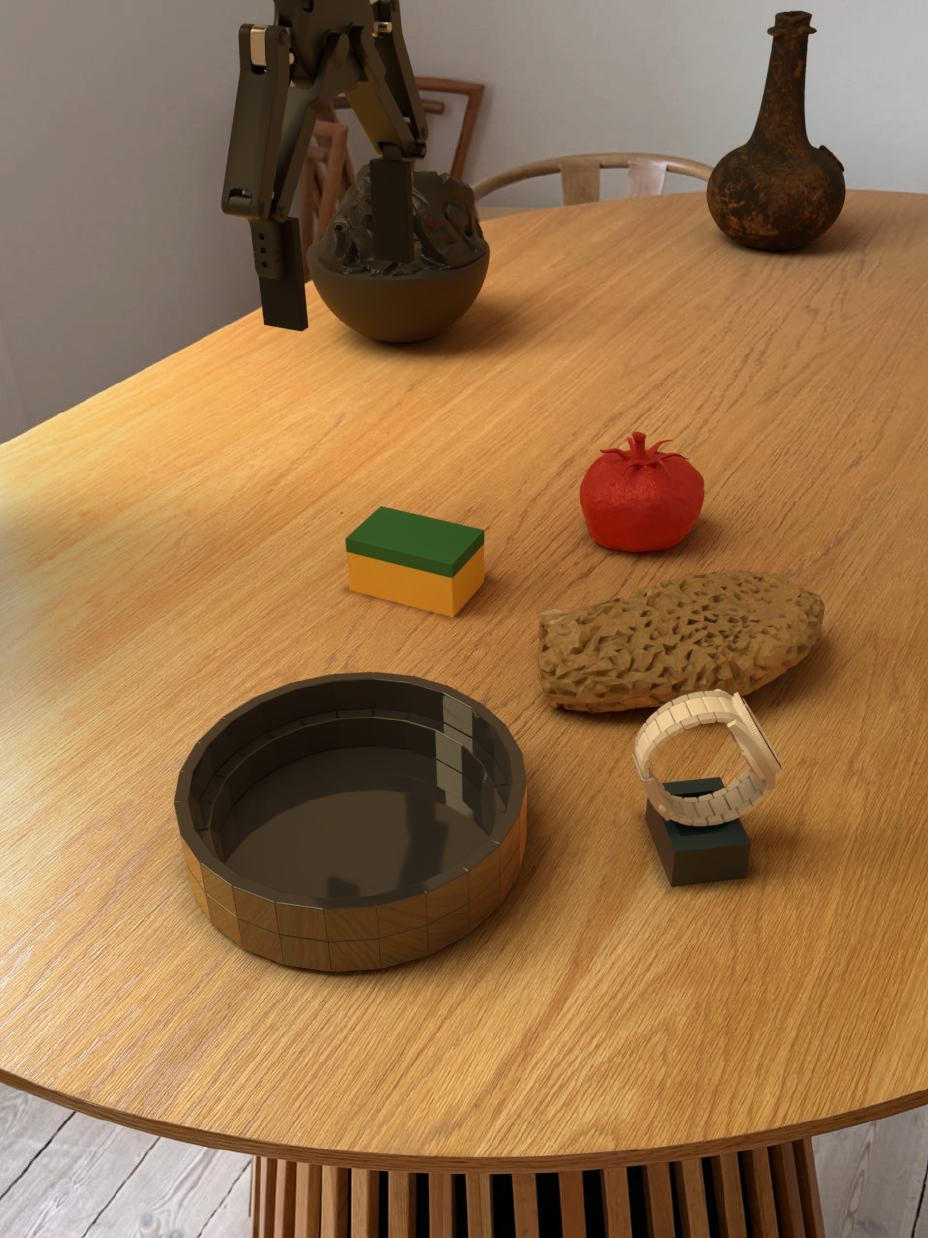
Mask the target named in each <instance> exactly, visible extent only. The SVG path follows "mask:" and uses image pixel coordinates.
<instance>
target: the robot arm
mask: <svg viewBox="0 0 928 1238" xmlns="http://www.w3.org/2000/svg"><path fill="white" fill-rule="evenodd" d="M272 1H273V8H274V9H273V10H274V11H273V20H272V21H273V22H272V24H261V23H259V24H258V23H242V24H241V25H240V27H239V29H238V35H237V39H238V55H239V59H238V60H239V75H238V80H237V81H238V82H237V90H236V96H235V102H234V111H233V117H232V123H231V131H230V137H229V145H228V151H227V158H226V165H225V173H224V180H223V186H222V192H221V193H222V194H221V201H220V207H221V211H222V213H223V214H224V215H226V216H233V217H236V218H241V219H242V218H243V219H246V220H247V222H248V223H249V227H250V235H251V242H252V243H251V244H252V251H253V258H254V259H253V261H254V262H253V263H254V270H255V271H256V272H255V273H256V274H257V277H258V284H259V285H258V286H259V294H260V300H261V301H260V302H261V303H260V304H261V312H262V320H263V321H262V322H263V325H264V326H267V327H272V328H273V327H274V328H278V329H279V328H280V329H284V330H290V331H296V332H301V333H302V332H304V331H305V330H307V329H308V328H309V318H308V305H307V296H306V295H307V294H306V283H305V271H304V261H303V250H302V239H301V228H300V218H299V217H293V216H289V214H290V211H291V208H292V205H293V201H294V197H295V195H296V191H297V187H298V184H299V181H300V179H301V174H302V171H303V168H304V163H305V160H306V158H307V153H308V150H309V147H310V143H311V140H312V136H313V133H314V130H315V126H316V124H317V120H318V117H319V115H320V114H321V113H324V112H325V111H326V110H327V109H328V108H329V105H330V102H331V99H334V98H336V97H339V95H341V93H342V92H343V94H344V96H345V98H346V100H347V102H348V104H349V105H350V107H351V109H352V111H353V112H354V114H355V116H356V118H357V120H358V121H359V123H360V125H361V127H362V129H363V130H364V132H365V135H366V136H367V138H368V139H369V141H370V143H371V145H372V147H373V149H374V150H375V152H376V154H377V155H378V156H382V155H383V159H379V157H374V158H372V159H370V160H368V163H369V165H370V183H371V201H372V219H373V236H374V254H375V259H379V260H386V261H393V262H400V263H406V264H410V263H412V262H413V261H415V258H414V232H413V205H412V179H411V171H412V161H411V160H419V161H420V160H421V161H424V159H425V158H426V156H427V150H428V148H427V143H426V142H427V140H428V138H429V135H430V132H429V131H430V130H429V129H430V128H429V125H428V121H427V118H426V114H425V109H424V107H423V103H422V100H421V95H420V92H419V88H418V84H417V81H416V78H415V74H414V71H413V67H412V63H411V60H410V56H409V52H408V48H407V45H406V41H405V38H404V34H403V27H402V26H403V25H402V15H401V4H400V0H272ZM291 83H292V84H293V86H291ZM405 118H408V120H405ZM243 191H244V193H243Z"/></svg>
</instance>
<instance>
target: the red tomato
mask: <svg viewBox="0 0 928 1238" xmlns="http://www.w3.org/2000/svg"><path fill="white" fill-rule="evenodd" d="M646 439H647V434H646V433H643V432H640V431H632V433H631V437H626V442H627V443H628V446H629V449H628V450H622V449H620V448H618V447H613V448H608V449H599V452H600V453H601V454H603V455H601V456H599V457H598V458H597V459H595V460H594V462H593V463H592V464H591V465H590V466H589V467H588V469H587V470H586V471H585V474H584V476H583V478H582V480H581V483H580V486H579V492H578V493H579V505H580V508H581V512H582V515H583V517H584V518H585V522H586V525H587V530H588V533H589V535H590V536H591V537H592V538H593V540H594V541H595V542H596V543H597V544H599V545H600V546H601V547H603V548H605V549H608V550H612V551H621V552H632V553H644V552H653V551H655V552H657V551H658V552H659V551H664V550H668V549H670V548H673V547H675V546H677V545H679V544H680V543H681V542H682V541H683V540H685V538H686V537H687V536H688V535H689V533H690V531H692V529H693V528H694V526H695V524H696V523H697V521H698V519H699V517H700V515H701V512H702V509H703V505H704V501H705V480H704V476H703V475H702V473H701V472H700V471H699V470H697V469H696V468H695V466H694V465H693V464H692V463H691V462H690V461H689V460H690V458H688V457H685V456H683V455H682V454H680V453H676V452H662V451H658V450H659V449H660V447H661V446H662V445H663V444H666V443H668V442H673V439H663V440H660V441H658V442H656V443H655V444H653V445H651V446H650V447H649V448H648V449H646Z"/></svg>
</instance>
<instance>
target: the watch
mask: <svg viewBox="0 0 928 1238" xmlns="http://www.w3.org/2000/svg"><path fill="white" fill-rule="evenodd" d="M672 703H673V704H672ZM673 705H674V706H673ZM686 705H687V706H686ZM716 722H717V723H724V725H725V727H726V730H727V731H728V733H729V735H730V736H731V738H732V740H733V742H734V743H735V745H736V747H737V749H738V751H739V753H740V755H741V756H742V758H743V759H744V761H745V763H746V764H747V766H748V768H746V769H745V770H744V771H743V773H741V775H740V776H739V778H737V779H735V780H734V781H732V782H731V783H730V784H728V785H727V787H726V786H725V784H724V782H723V780H722V778H721V776H715V777H706V778H705V777H704V778H696V779H685V780H677V781H667V782H661V781H660V780H659V778H658V777H657V776H656V775H655V773H654V765H653V763H652V759H653V758H654V757H655V755H656V754H657V752H658V751H659V748H660V747H662V746H664V744H666V743H667V742H668V741H669V740H670V738H674V737H675V736H677V735H679V734H681V733H683V732H684V730H689V729H691V728H695V727H698V726H699V725H706V724H715V723H716ZM631 757H632V760H633V763H634V766H635V769H636V771H637V775H638V777H639V779H640V781H641V784H642V787H643V790H644V792H645V794H646V809H645V815H644V817H645V818H644V819H645V823H646V825H647V827H648V831H649V834H650V836H651V838H652V841H653V843H654V846H655V849H656V851H657V854H658V857H659V859H660V862H661V865H662V867H663V870H664V873H665V876H666V879H667V880H668V883H669V887H670V888H675V887H685V886H692V885H700V884H701V885H702V884H710V883H718V882H725V881H726V882H727V881H735V880H736V881H737V880H743V879H746V876H747V870H748V864H749V859H750V854H751V853H750V852H751V846H752V842H751V840H750V838H749V836H748V833H747V831H746V829H745V827H744V825H743V822H742V821H741V818H740V816H744V815H746V814H747V813H749V812H751V811H752V810H753V809H754V808H755V807H757V806H758V805H760V803H762V801H764V800H765V798H766V797H767V795H768V794H770V792H771V791H772V790H774V789H776V788H777V787H776V786H777V775H776V774H781V773H783V772H784V771H783V767H782V765H781V761H780V759H779V758H778V755H777V753H776V751H775V750H774V748H773V746H772V744H771V742H770V740H769V739H768V737H767V735H766V734H765V732H764V730H763V728H762V726H761V725H760V722H759V721H758V719H757V718H756V716H755V715H754V713H753V711H752V709H751V707H750V706H749V704H748V703H747V701H746V700H745V698H744V697H743V696H741V695H740V694H739V693H738V692H737V693H735V694H734V696H733V697H732V696H731V695H729V694H728V693H727V692H725V691H722V690H720V689H716V690H714V691H705V692H702V691H701V692H695V693H691V694H688V696H687V695H683V696H681V697H678V698H676V699H674V700H672V702H668V703H666V704H665V705H663V706H662V707H659V708H658V709H657V710H655V712H653V713H652V714H651V715H650V716H649V717H648V718H647V719H646V721H645V722H644V723H643V724H642V726H641V728H640V729H639V731H638V733H637V735H636V737H635V740H634V747H633V753H632V754H631Z"/></svg>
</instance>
